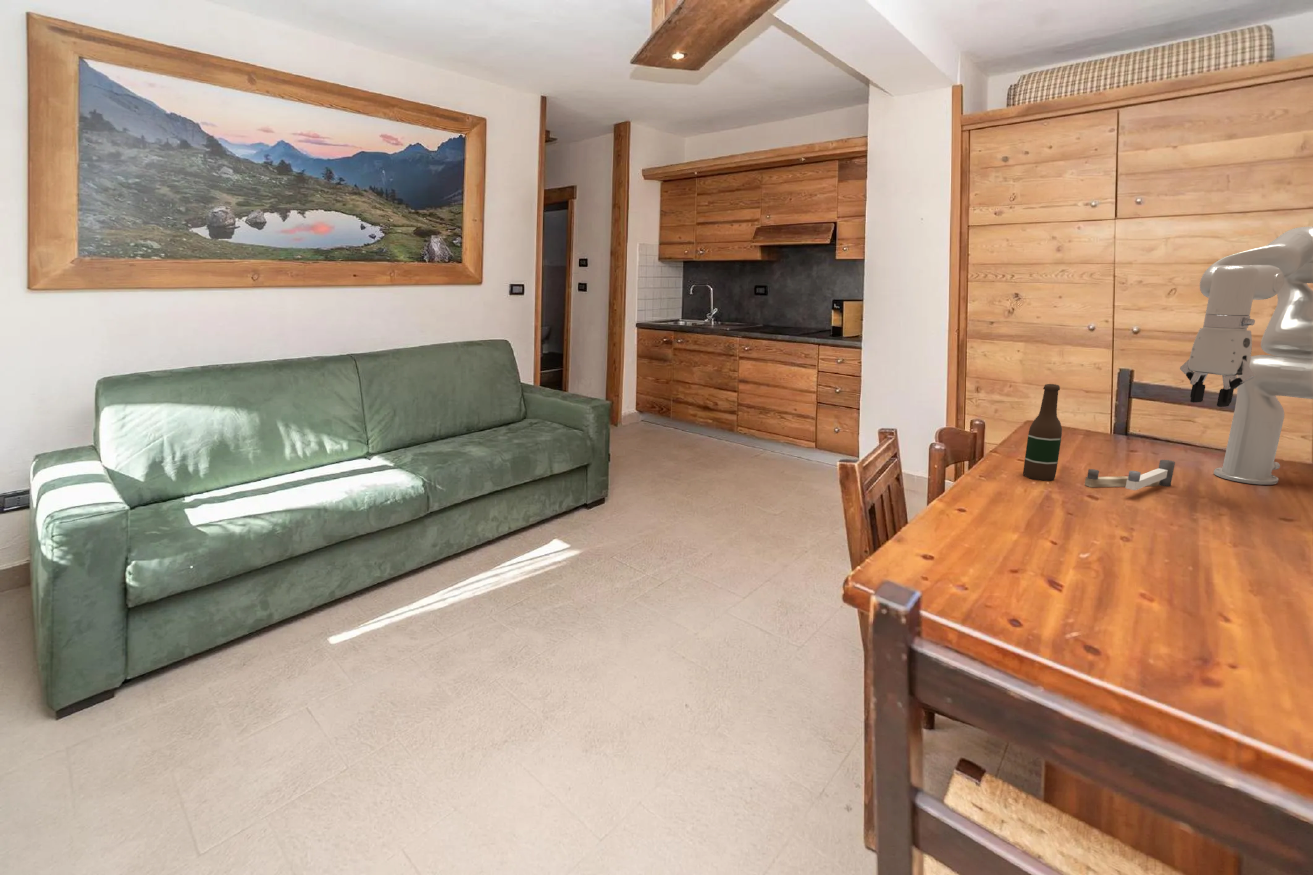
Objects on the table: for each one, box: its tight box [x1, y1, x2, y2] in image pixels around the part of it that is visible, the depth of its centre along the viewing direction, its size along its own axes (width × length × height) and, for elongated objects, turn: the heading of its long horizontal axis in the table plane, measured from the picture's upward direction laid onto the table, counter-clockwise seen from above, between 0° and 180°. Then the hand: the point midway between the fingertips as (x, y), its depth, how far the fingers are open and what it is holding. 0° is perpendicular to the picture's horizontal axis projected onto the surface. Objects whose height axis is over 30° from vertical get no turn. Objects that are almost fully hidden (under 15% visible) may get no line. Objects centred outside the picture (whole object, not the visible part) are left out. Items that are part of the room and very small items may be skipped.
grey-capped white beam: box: [1084, 459, 1176, 488], centre depth 166 cm, size 22×3×6 cm, turn 95°
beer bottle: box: [1022, 383, 1063, 482], centre depth 170 cm, size 8×8×24 cm
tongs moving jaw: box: [1125, 467, 1168, 491], centre depth 160 cm, size 18×2×4 cm, turn 124°
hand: (1209, 403), depth 153 cm, fingers open, 4 cm apart
